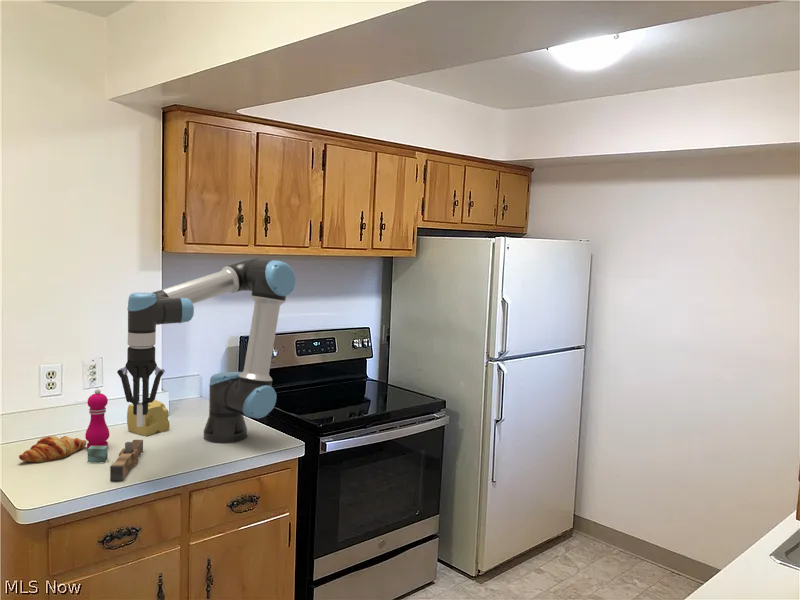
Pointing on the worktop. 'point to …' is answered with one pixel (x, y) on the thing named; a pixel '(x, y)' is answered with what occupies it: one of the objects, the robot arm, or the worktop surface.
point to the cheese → (149, 419)
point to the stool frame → (102, 451)
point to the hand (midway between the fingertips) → (140, 425)
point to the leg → (123, 464)
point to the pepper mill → (97, 420)
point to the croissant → (52, 449)
